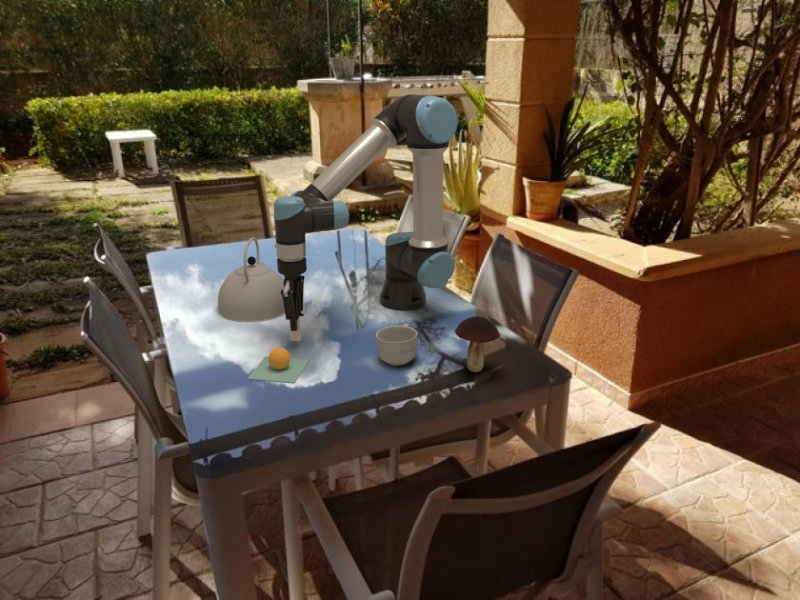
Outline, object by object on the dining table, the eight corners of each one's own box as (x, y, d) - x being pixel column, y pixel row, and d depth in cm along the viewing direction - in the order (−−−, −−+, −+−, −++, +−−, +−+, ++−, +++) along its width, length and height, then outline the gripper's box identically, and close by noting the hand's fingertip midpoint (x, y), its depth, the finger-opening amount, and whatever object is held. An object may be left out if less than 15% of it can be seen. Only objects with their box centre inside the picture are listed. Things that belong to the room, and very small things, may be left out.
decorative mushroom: (474, 357, 158) (478, 305, 152) (505, 373, 150) (510, 319, 144) (444, 369, 151) (446, 315, 146) (474, 386, 143) (478, 330, 138)
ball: (291, 371, 151) (294, 350, 152) (285, 368, 146) (288, 346, 147) (270, 370, 152) (273, 348, 153) (264, 367, 147) (266, 345, 148)
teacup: (403, 374, 149) (403, 345, 146) (367, 362, 154) (367, 335, 151) (430, 353, 160) (431, 326, 157) (396, 343, 165) (396, 317, 162)
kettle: (230, 292, 200) (224, 227, 192) (297, 293, 201) (294, 228, 192) (209, 322, 177) (201, 250, 169) (285, 323, 177) (280, 250, 169)
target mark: (309, 360, 154) (309, 360, 154) (294, 383, 143) (294, 382, 143) (265, 357, 156) (265, 356, 156) (247, 379, 145) (247, 378, 145)
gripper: (285, 249, 160) (290, 329, 168) (268, 264, 148) (274, 349, 156) (312, 251, 159) (316, 331, 167) (297, 265, 147) (302, 351, 155)
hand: (296, 339), depth 162 cm, fingers closed
